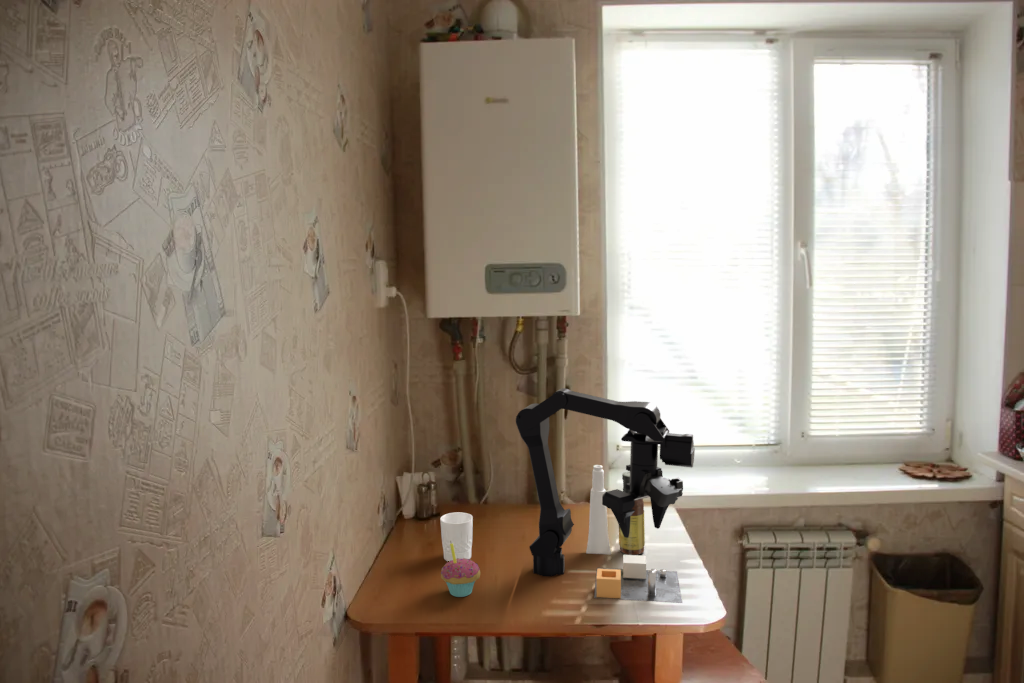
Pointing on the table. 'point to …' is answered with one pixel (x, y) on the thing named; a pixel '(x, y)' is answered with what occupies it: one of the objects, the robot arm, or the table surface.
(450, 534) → the white cup
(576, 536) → the table surface
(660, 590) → the base plate
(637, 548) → the sauce bottle
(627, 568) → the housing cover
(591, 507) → the cosmetic bottle
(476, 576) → the cupcake
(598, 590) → the orange hollow square block
